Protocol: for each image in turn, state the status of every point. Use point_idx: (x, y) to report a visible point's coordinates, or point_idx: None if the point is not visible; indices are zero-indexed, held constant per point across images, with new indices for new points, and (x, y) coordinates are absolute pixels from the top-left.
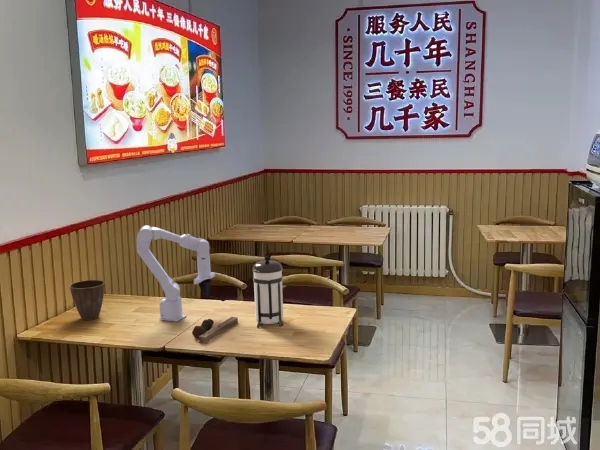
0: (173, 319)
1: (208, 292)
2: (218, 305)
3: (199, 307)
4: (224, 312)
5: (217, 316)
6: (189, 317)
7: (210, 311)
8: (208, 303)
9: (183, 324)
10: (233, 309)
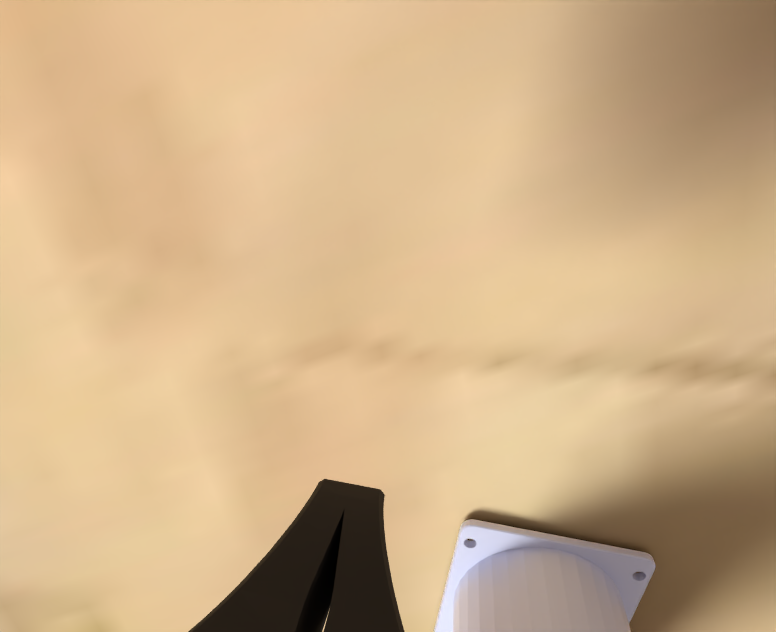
0: (620, 596)
1: (318, 522)
2: (10, 329)
3: (154, 490)
4: (214, 150)
5: (395, 181)
6: (486, 482)
7: (235, 341)
8: (6, 450)
9: (739, 466)
10: (55, 69)
